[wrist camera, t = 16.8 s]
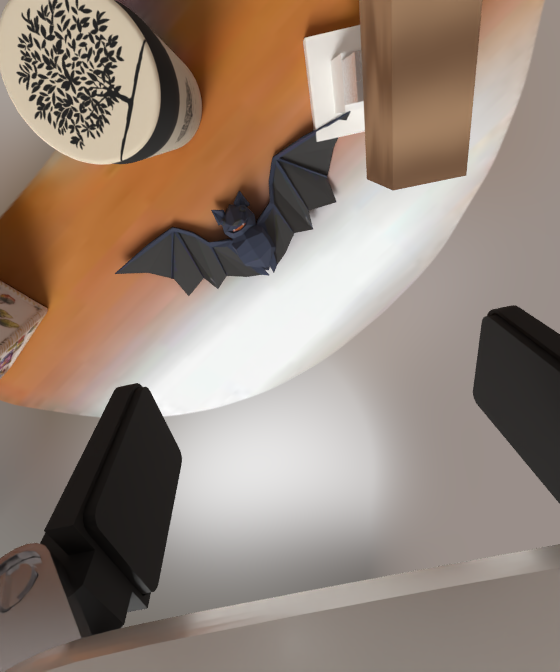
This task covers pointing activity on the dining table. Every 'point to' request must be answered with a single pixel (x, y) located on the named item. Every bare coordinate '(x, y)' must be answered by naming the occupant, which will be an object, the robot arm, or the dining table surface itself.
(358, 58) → the fulcrum stand
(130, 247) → the dining table surface
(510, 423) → the robot arm
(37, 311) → the decorative jar
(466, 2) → the wooden block
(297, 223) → the decorative bat
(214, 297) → the dining table surface
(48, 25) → the travel mug
